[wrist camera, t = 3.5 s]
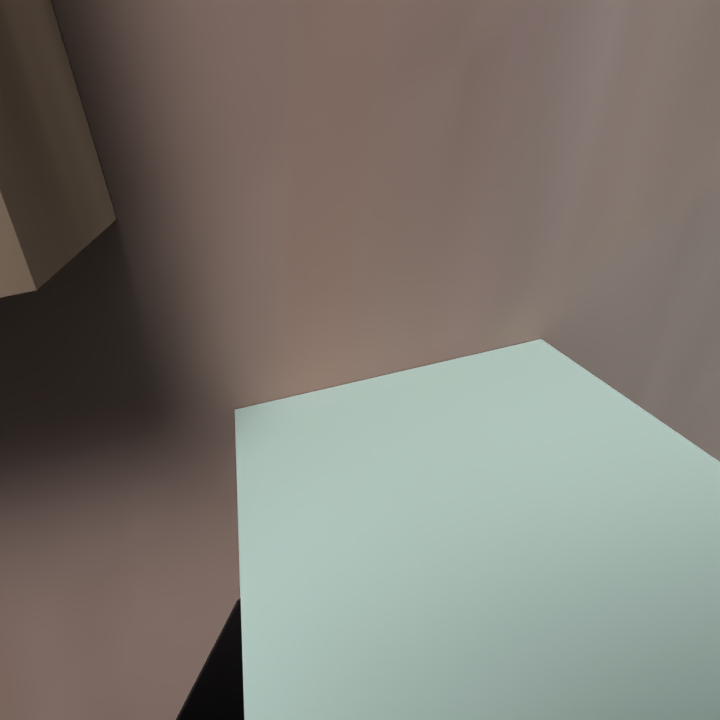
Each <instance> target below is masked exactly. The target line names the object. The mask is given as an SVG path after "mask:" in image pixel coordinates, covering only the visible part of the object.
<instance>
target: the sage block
mask: <svg viewBox="0 0 720 720" xmlns="http://www.w3.org/2000/svg"><path fill="white" fill-rule="evenodd" d="M235 435H236V467H237V499H238V532H239V564H240V596H241V628H242V661H243V693H244V720H720V462H719V461H718V460H716V459H715V458H713V457H712V456H710V455H709V454H707V453H706V452H705V451H703V450H702V449H700V448H699V447H697V446H696V445H694V444H693V443H691V442H690V441H689V440H687V439H686V438H684V437H683V436H681V435H680V434H678V433H677V432H676V431H674V430H673V429H671V428H670V427H668V426H667V425H665V424H664V423H662V422H661V421H660V420H658V419H657V418H655V417H654V416H652V415H651V414H649V413H648V412H646V411H645V410H644V409H642V408H641V407H639V406H638V405H636V404H635V403H633V402H632V401H630V400H629V399H628V398H626V397H625V396H623V395H622V394H620V393H619V392H617V391H616V390H614V389H613V388H612V387H610V386H609V385H607V384H606V383H604V382H603V381H601V380H600V379H598V378H597V377H596V376H594V375H593V374H591V373H590V372H588V371H587V370H585V369H584V368H582V367H581V366H580V365H578V364H577V363H575V362H574V361H572V360H571V359H569V358H568V357H566V356H565V355H564V354H562V353H561V352H559V351H558V350H556V349H555V348H553V347H552V346H550V345H549V344H548V343H546V342H545V341H543V340H542V339H540V340H535V341H531V342H527V343H522V344H518V345H514V346H509V347H505V348H501V349H496V350H492V351H488V352H483V353H479V354H475V355H470V356H466V357H461V358H457V359H453V360H448V361H444V362H440V363H435V364H431V365H427V366H422V367H418V368H414V369H409V370H405V371H401V372H396V373H392V374H388V375H383V376H379V377H375V378H370V379H366V380H362V381H357V382H353V383H349V384H344V385H340V386H336V387H331V388H327V389H323V390H318V391H314V392H310V393H305V394H301V395H297V396H292V397H288V398H284V399H279V400H275V401H271V402H266V403H262V404H258V405H253V406H249V407H245V408H240V409H236V410H235Z"/></svg>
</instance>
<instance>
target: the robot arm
mask: <svg viewBox="0 0 720 720" xmlns="http://www.w3.org/2000/svg"><path fill="white" fill-rule="evenodd" d="M176 720H244V693H243V661H242V628H241V598H239V599H238V600H237V602H236V604H235V606H234V608H233V610H232V612H231V614H230V616H229V618H228V619H227V621H226V623H225V625H224V627H223V629H222V631H221V633H220V635H219V637H218V639H217V641H216V643H215V645H214V647H213V649H212V651H211V652H210V654H209V656H208V658H207V660H206V662H205V664H204V666H203V668H202V670H201V672H200V674H199V676H198V678H197V680H196V682H195V684H194V685H193V687H192V689H191V691H190V693H189V695H188V697H187V699H186V701H185V703H184V705H183V707H182V709H181V711H180V713H179V715H178V717H177V719H176Z"/></svg>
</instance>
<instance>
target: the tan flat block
mask: <svg viewBox="0 0 720 720" xmlns="http://www.w3.org/2000/svg"><path fill="white" fill-rule="evenodd" d="M115 220H116V215H115V212H114V209H113V205H112V202H111V199H110V195H109V192H108V189H107V186H106V182H105V179H104V176H103V172H102V169H101V166H100V162H99V159H98V156H97V152H96V149H95V146H94V142H93V139H92V136H91V133H90V129H89V126H88V123H87V119H86V116H85V113H84V109H83V106H82V103H81V99H80V96H79V93H78V89H77V86H76V83H75V80H74V76H73V73H72V70H71V66H70V63H69V60H68V56H67V53H66V50H65V46H64V43H63V40H62V36H61V33H60V30H59V26H58V23H57V20H56V17H55V13H54V10H53V7H52V3H51V0H0V298H1V297H6V296H11V295H16V294H21V293H26V292H31V291H36V290H38V289H39V288H40V287H41V286H42V285H43V284H44V283H45V282H47V281H48V280H49V279H50V278H51V277H52V276H53V275H54V274H56V273H57V272H58V271H59V270H60V269H61V268H62V267H63V266H65V265H66V264H67V263H68V262H69V261H70V260H71V259H72V258H74V257H75V256H76V255H77V254H78V253H79V252H80V251H81V250H83V249H84V248H85V247H86V246H87V245H88V244H89V243H90V242H92V241H93V240H94V239H95V238H96V237H97V236H98V235H99V234H101V233H102V232H103V231H104V230H105V229H106V228H107V227H108V226H110V225H111V224H112V223H113V222H114V221H115Z"/></svg>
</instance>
